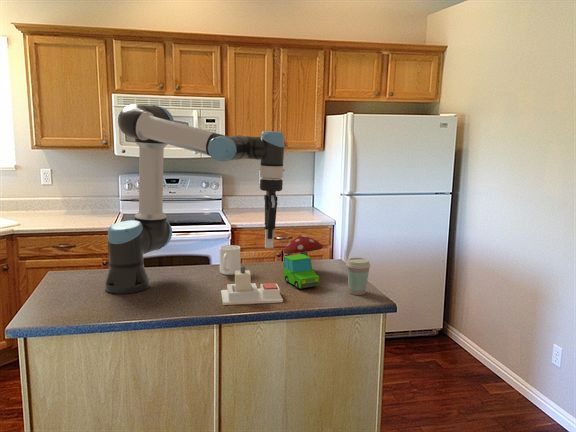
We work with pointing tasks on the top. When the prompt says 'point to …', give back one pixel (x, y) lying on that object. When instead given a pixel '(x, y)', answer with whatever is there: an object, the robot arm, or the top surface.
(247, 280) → the plug
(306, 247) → the decorative mushroom
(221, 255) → the mug
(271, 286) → the switch
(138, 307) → the top surface
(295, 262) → the toy car
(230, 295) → the socket plate
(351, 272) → the coffee cup
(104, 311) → the top surface
